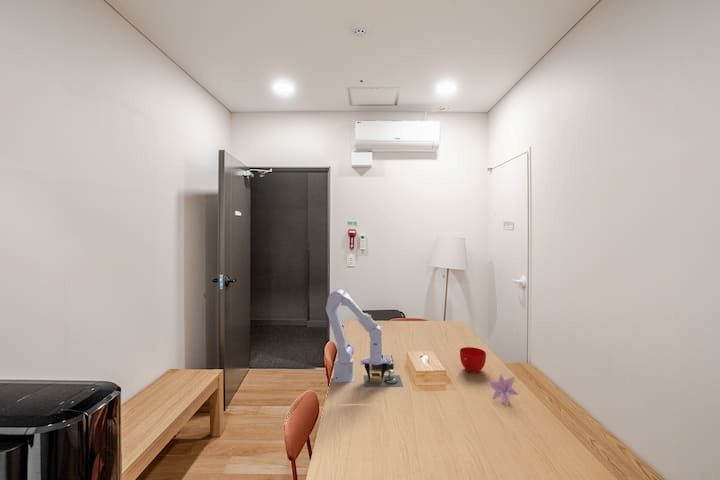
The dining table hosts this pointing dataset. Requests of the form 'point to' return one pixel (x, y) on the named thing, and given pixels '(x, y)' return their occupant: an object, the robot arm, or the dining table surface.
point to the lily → (503, 388)
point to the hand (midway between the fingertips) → (375, 379)
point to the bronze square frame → (375, 378)
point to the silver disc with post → (391, 377)
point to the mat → (383, 382)
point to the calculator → (387, 356)
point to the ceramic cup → (472, 359)
